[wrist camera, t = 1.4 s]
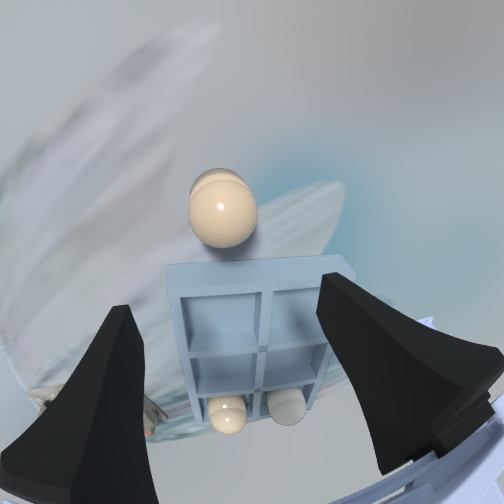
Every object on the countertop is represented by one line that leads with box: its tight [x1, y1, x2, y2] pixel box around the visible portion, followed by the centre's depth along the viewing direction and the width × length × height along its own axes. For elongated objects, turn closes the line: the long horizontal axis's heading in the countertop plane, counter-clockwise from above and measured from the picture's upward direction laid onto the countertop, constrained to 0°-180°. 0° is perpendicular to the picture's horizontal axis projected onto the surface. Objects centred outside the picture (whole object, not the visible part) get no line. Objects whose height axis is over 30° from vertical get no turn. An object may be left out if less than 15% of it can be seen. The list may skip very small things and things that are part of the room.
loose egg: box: [188, 168, 258, 248], centre depth 17 cm, size 4×4×5 cm
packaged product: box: [27, 384, 167, 437], centre depth 27 cm, size 18×5×10 cm
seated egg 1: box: [207, 394, 247, 435], centre depth 26 cm, size 4×4×5 cm
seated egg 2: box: [264, 386, 307, 426], centre depth 27 cm, size 4×4×5 cm
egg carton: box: [167, 254, 356, 425], centre depth 25 cm, size 14×20×3 cm
